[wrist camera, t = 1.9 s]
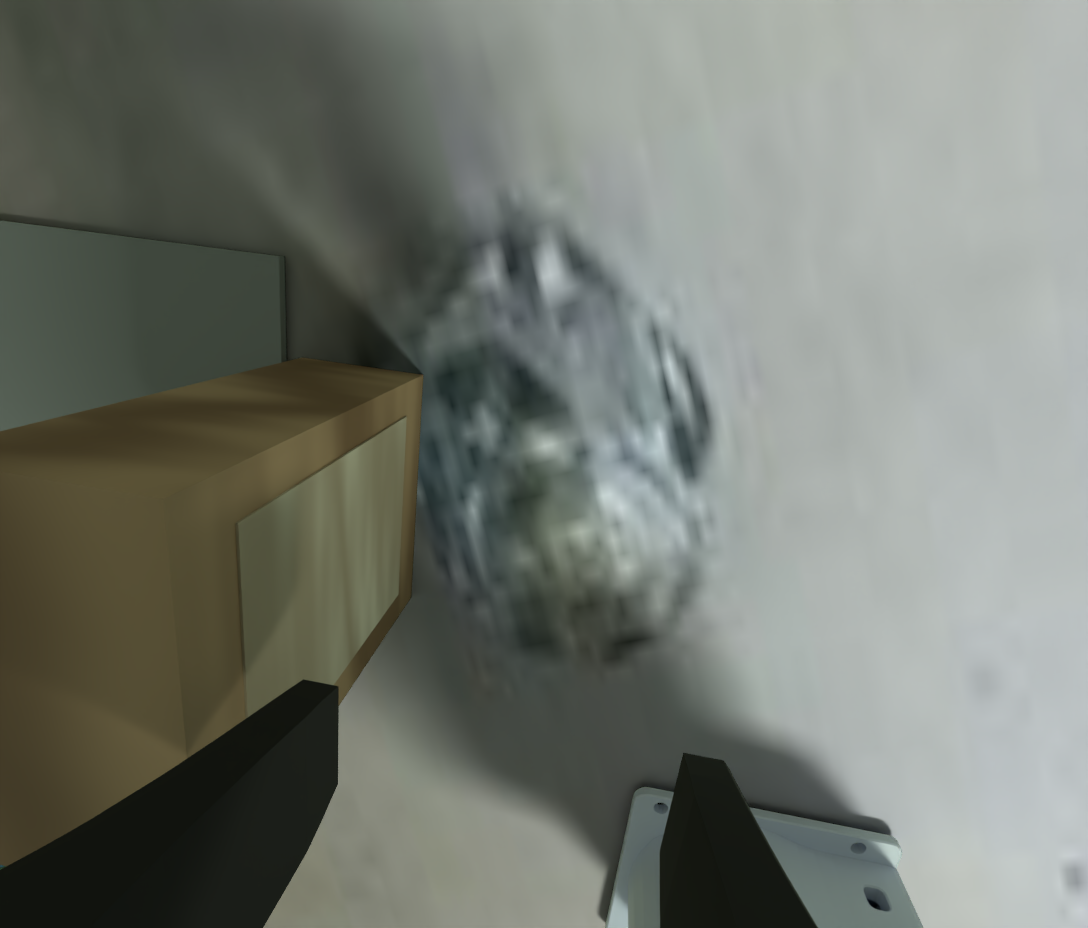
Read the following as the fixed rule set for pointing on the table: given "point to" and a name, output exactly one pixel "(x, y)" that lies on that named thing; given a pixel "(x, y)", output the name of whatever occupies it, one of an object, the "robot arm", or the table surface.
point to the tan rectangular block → (191, 572)
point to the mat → (126, 318)
